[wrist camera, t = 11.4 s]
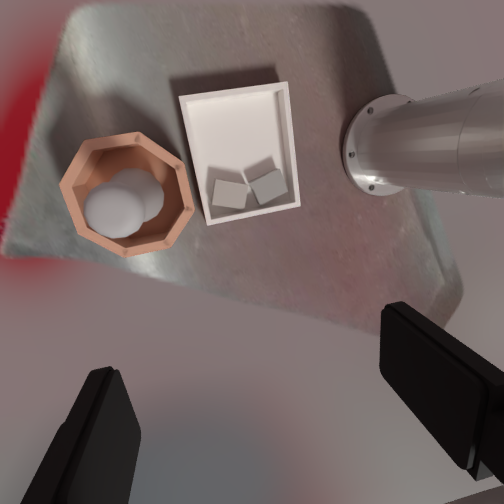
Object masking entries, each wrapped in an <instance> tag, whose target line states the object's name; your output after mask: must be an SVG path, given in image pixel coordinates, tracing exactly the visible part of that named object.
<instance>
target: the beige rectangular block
mask: <svg viewBox="0 0 504 504" xmlns="http://www.w3.org/2000/svg"><path fill="white" fill-rule="evenodd" d="M248 186H249V185H247V184H243V183H237V182H231V181H226V180H220V179H215V178H214V185H213V192H212V199H211V204H212V205H218V206H224V207H231V208H237V209H245V203H246V197H247V191H248Z"/></svg>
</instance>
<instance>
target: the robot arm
mask: <svg viewBox="0 0 504 504" xmlns="http://www.w3.org/2000/svg"><path fill="white" fill-rule="evenodd" d="M367 111H368V113H367ZM349 154H350V155H349ZM343 162H344V167H345V170H346V173H347V175H348V177H349V179H350V180H351V182H352V183H353V184H354V185H355V186H356V187H357V188H358V189H360V190H361V191H363V192H365V193H368V194H371V195H377V196H386V195H391V194H394V193H397V192H399V191H401V190H402V189H404V188H405V187H408V188H416V189H424V190H433V191H441V192H449V193H458V194H466V195H474V196H482V197H492V198H501V199H504V79H500V80H496V81H492V82H489V83H484V84H480V85H477V86H473V87H469V88H465V89H461V90H457V91H453V92H450V93H446V94H442V95H438V96H434V97H430V98H426V99H423V100H419V101H414V100H413V99H411V98H409V97H407V96H404V95H400V94H389V95H385V96H382V97H379V98H376V99H374V100H372V101H370V102H369V103H367V104H366V105H365V106H363V107H362V108H361V109H360V110H359V111H358V112H357V114H356V115H355V117H354V118H353V119H352V121H351V123H350V125H349V127H348V129H347V132H346V135H345V138H344V143H343ZM379 367H380V372H381V374H382V376H383V378H384V379H385V380H386V381H387V382H388V384H389V385H390V386H391V387H392V388H393V390H394V391H395V392H396V393H397V394H398V396H399V397H400V398H401V399H402V400H403V401H404V403H405V404H406V405H407V406H408V407H409V409H410V410H411V411H412V412H413V413H414V415H415V416H416V417H417V418H418V419H419V420H420V422H421V423H422V424H423V425H424V426H425V428H426V429H427V430H428V431H429V432H430V434H432V436H433V437H434V438H435V439H436V441H437V442H438V443H439V444H440V446H441V447H442V448H443V449H444V450H445V451H446V453H447V454H448V455H449V456H450V457H451V459H452V460H453V461H454V462H455V463H456V464H457V466H458V467H460V468H461V469H464V470H465V469H466V470H467V472H468V473H469V474H470V475H471V476H472V477H473V479H474V480H475V481H479V480H481V479H485V478H488V477H491V476H493V474H494V475H495V477H496V478H497V479H498V480H499V481H500V482H501V483H502V486H499V487H496V488H493V489H489V490H486V491H482V492H479V493H476V494H473V495H470V496H467V497H464V498H461V499H458V500H454V501H452V502H448V503H445V504H504V372H503V371H501V370H500V369H498V368H497V367H496V366H494V365H493V364H491V363H490V362H489V361H487V360H486V359H484V358H483V357H481V356H480V355H478V354H477V353H476V352H474V351H473V350H472V349H470V348H469V347H467V346H466V345H464V344H463V343H462V342H460V341H459V340H457V339H456V338H454V337H453V336H452V335H450V334H449V333H447V332H446V331H445V330H443V329H442V328H440V327H439V326H437V325H436V324H435V323H433V322H432V321H430V320H429V319H428V318H426V317H425V316H423V315H422V314H420V313H419V312H418V311H416V310H415V309H413V308H412V307H410V306H409V305H408V304H406V303H405V302H403V301H400V302H395V303H391V304H387V305H385V307H384V309H383V310H382V311H381V331H380V363H379ZM140 441H141V430H140V426H139V423H138V421H137V418H136V415H135V412H134V410H133V407H132V404H131V402H130V399H129V396H128V393H127V390H126V388H125V385H124V382H123V380H122V377H121V374H120V372H119V370H117V369H116V370H114V369H113V368H112V367H111V366H109V367H104V368H100V369H96V370H92V371H91V372H90V373H89V375H88V377H87V379H86V381H85V383H84V385H83V387H82V389H81V391H80V393H79V395H78V397H77V399H76V401H75V403H74V405H73V407H72V409H71V411H70V413H69V415H68V417H67V419H66V421H65V422H64V423H63V424H62V425H61V426H60V428H59V429H58V431H57V433H56V435H55V437H54V439H53V441H52V443H51V444H50V446H49V448H48V451H47V452H46V454H45V456H44V458H43V460H42V462H41V464H40V466H39V468H38V470H37V472H36V474H35V476H34V478H33V480H32V482H31V484H30V486H29V488H28V489H27V492H26V493H25V495H24V497H23V499H22V501H21V503H20V504H128V501H129V496H130V491H131V486H132V481H133V476H134V471H135V466H136V461H137V456H138V451H139V446H140Z"/></svg>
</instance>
